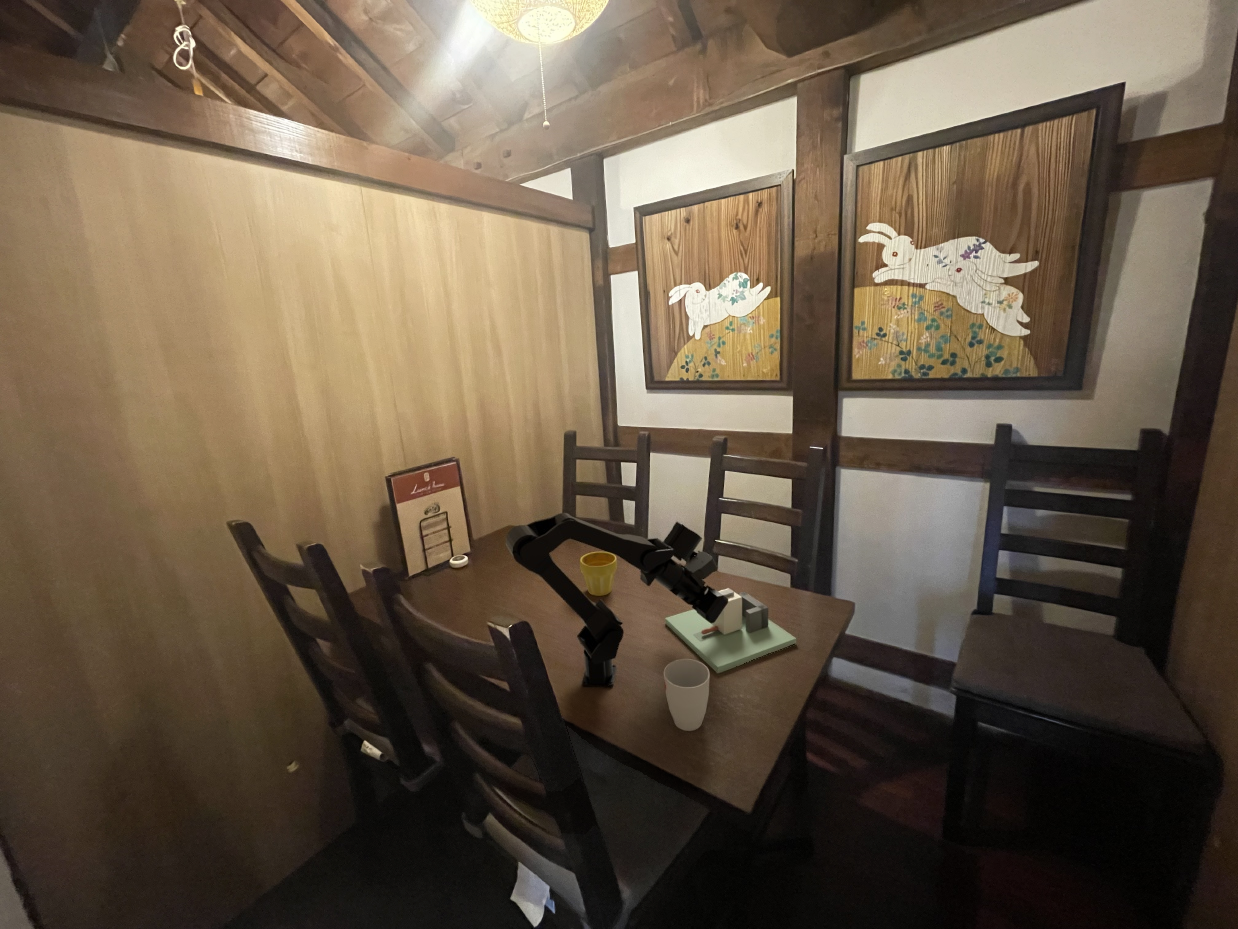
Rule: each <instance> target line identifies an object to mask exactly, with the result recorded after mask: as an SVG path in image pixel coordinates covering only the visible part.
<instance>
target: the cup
mask: <svg viewBox="0 0 1238 929" xmlns="http://www.w3.org/2000/svg"><path fill="white" fill-rule="evenodd" d="M663 680H664V689H665V696H666V700H667V701H666V702H667V703H668V709H669V712H670V715H671V717H672V720H673V722H674V725H675V726H676V727H677V728H678V729H680V730H683V731H685V732H687V731H688V732H692V731H696V730H697V729H699V728H701V726H702V724H703V721H704V717H705V715H706V713H707V706H708V702H709V697H710V696H709V695H710V670H709V668H708V666H706V665H705V664H704V663H703V662H701V661H699V660H696V659H690V658H680V659H676V660H673V661H671V662H669V663H668V664H667V665H666V666H665V667H664V669H663Z"/></svg>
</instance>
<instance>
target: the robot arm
mask: <svg viewBox="0 0 1238 929" xmlns="http://www.w3.org/2000/svg"><path fill="white" fill-rule="evenodd" d="M568 540H573V541H576V542H579V543H582V544H584V545H586V546H590V547H593V548H595V549H598V550H602V551H603V552H609V553H612V554H614V555H615V556H616V557H617V556H618V557H619V558H621V560H624V561H625V562H627V563H628V564H629V565H632V567H634V568H636V569H638V570H640V581H642V583H643V584H645V585H646V587H647V586H648V587H650V586H651V585H652V584H653V582H654V580H655V582H657V583H659V584H660V585H662V586H663V587H664V588H666V589H667V590H668V591H669V592H671V593H672V594H673V595H674V596H676V597H678V598H680V599H681V600H682V601H683V602H685V604H687V605H690V606H691V608H692V610H693V609H695V610H696V611H697V613H698V614H699V615H700V616H702V617H703V618H704V619H705V620H707V621H708V622H709V623H711V624H712V623H714V622H715V621H716V619H717V618H718V617H719V615H720V614H721V612H722V611H723V609H724V608H725V606H726V605H727V603H728V599H727V598H726V597H725V596H724V595H722V594H721V593H719V592H718V591H719V590H716V589H715V588H713V587H711V586H709V585H708V584H706V581H705V579H707V578H709V576H711V575H712V574H713V573H715V572H717V570H718V568H719V567H718V566H717V563H716V562H715V559H714V558H713V556H712V555H711V554H708V553H707V552H706V551H700V550H697V552H696V551H695V550H696V548H697V547H698V545H700V543H701V541H702V540H703V538H702V537H701V535H699V534H698V533H697V532H695V531H693V530H692V529H690V528H688V527H687V526H685V525H684V524H683V523H682V522H679V521H676V522H675V523H674V524H673V527H672V528H671V530H670V531H669V532H668V534H667V535H666V537H665V538H664V540H662V539H660V538H658V537H649V538H645V537H643V536H641V535H640V536H639V535H634V534H620V533H617V532H613V531H611V530H608V529H605V528H603V527H601V526H598V525H596V524H593V523H590V522H587V521H585V520H582V519H579V518H577V517H574V516H572V515H570V514H569V513H567V512H560V513H558V514H556V515H553V516H551V517H547V518H544V519H538V520H534V521H532V522H530V523H528V524H521V525H520V524H519V525H516V526H514V527H512V528H511V529H510V530H508V532H507V534H506V536H505V545H506V546H505V547H506V548H507V550H508V551H509V553H510V554H511V556H512V557H513V559H514V560H515V562H517V564H518V565H520V566H521V567H523V568H524V569H526V570H527V571H529V572H531V573H532V574H535V575H537V576H539V577H540V578H541V579H543V581H544V582H545V583H546V584H548V586H549V587H550V588H551V589H552V590H553V591H554V592H555V593H556V594H557V595H558V596H559V597H560V598H561V599H562V600H563V601H564V602H565V604H567V606H569V607H570V609H572V611H573V612H574V613H576V615H578V617H579V618H580V619H581V621H582V623H583V624H584V626H583V627H582V628H581V630H580V631H579V633H578V634H577V636H576V639H577V640H578V642H579V643H580V645H581V646H582V647H583V658H584V660H583V661H584V673H583V677H582V681H581V686H582V687H613V686H614V684H615V683H614V682H615V678H616V672H617V665H615V664H613V660H614V659H616V657H617V655H618V651H619V646H620V643H621V642H622V640H623V637H624V633H625V632H624V631H625V630H624V629H623V627H622V626H621V625H623V624H624V623H623V621H621V619H620V618H619V617H618V616H617V615H616V614H615V613H614V610H612V609H611V608H609V607H608V606H607V604H606V603H605V602H604V601H603V599H602V598H599V600H598V601H597V602H594V601H592V600H591V599H590V598H589V597H588V596H587V595H586V594H585V593H584V592H583V591H582V590H581V589H580V588H579V587H578V586H577V584H576V583H574V581H573V580H572V579H571V578H570V577H569V576H568V575H567V574H566V572H564V571H563V569H562V568H561V567H559V565H558V564H557V563H556V562H555V561H554V560H553V557H552V555H551V554H550V553H552V552H554V551H555V550H556V549H557V548H558V547H560V545H562V544H563V543H565V542H566V541H568ZM673 557H674V559H677V560H678V561H679V562H681V561H682V560H683V561H685V565H682V564H681V563H678V562H677V561H675V560H674V559H673Z"/></svg>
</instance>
